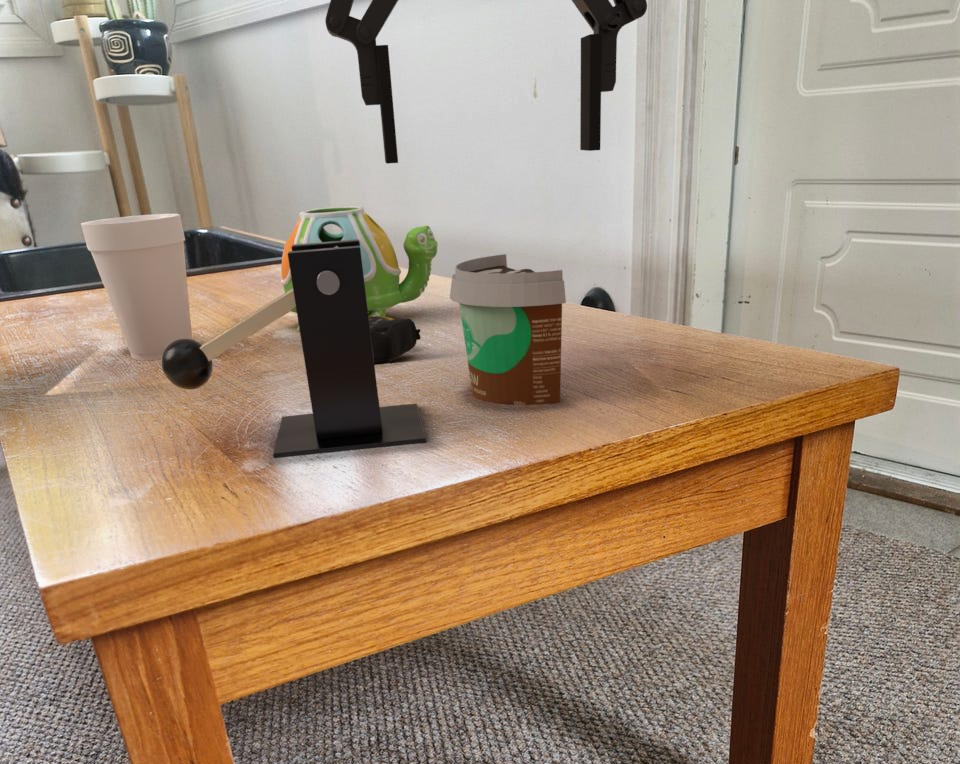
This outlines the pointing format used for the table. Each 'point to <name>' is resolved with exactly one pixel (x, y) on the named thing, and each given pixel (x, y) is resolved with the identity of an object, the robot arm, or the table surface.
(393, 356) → the tape measure
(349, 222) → the turtle holder
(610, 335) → the table surface
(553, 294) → the food container
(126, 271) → the foam cup
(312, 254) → the bracket
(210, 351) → the lever
